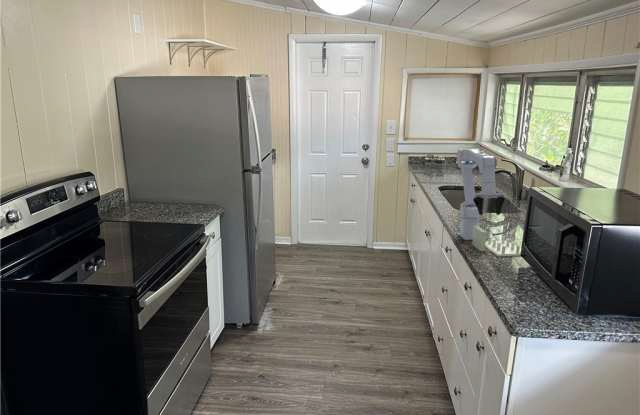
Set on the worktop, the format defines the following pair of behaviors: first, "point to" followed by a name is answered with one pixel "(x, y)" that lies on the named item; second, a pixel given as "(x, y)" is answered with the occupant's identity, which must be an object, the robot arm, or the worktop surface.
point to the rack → (503, 247)
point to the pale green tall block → (479, 238)
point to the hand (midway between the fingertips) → (489, 214)
